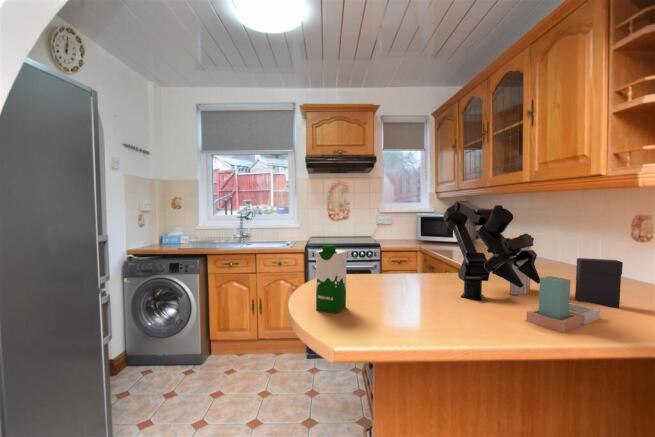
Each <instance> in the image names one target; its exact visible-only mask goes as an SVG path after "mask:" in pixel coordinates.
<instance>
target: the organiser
mask: <svg viewBox="0 0 655 437" xmlns="http://www.w3.org/2000/svg"><path fill="white" fill-rule="evenodd" d="M525 316H526V318H525V320H524V322H526V323H530V324H533V325H536V326H540V327H542V328H545V329H549V330H551V331H556V332H558V333H562V334H565V333H568V332H571V331H574V330H576V329H579V328H582V327H584V326H586V325H589V324H592V323H594V322H597V321H599V320H602V318H601V317H600V316H601V310H600V309H598V308H593V307H590V306H585V305H581V304H577V303H572V302H570V305H569V318H567V319H564V320H558V319H554V318H551V317H547V316H544V315H540V314H539V307H537V308H535V309H532V310H529V311H526V315H525Z"/></svg>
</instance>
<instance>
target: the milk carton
mask: <svg viewBox="0 0 655 437" xmlns="http://www.w3.org/2000/svg"><path fill="white" fill-rule="evenodd" d="M321 247H322V248H321V249H320V250H317V251H315V252H314V253H315V264H316V267H315V268H316V270H315V273H316V274H315V310H316V311H319V312H325V313H332V314H338V313H339V312H341V311H342V310H344V309H345V308H346V306H347V304H346V303H347V261H348V250H343V249H342V250H341V249H337V248H336V244H322V246H321Z"/></svg>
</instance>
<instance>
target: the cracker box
mask: <svg viewBox="0 0 655 437" xmlns="http://www.w3.org/2000/svg"><path fill="white" fill-rule="evenodd" d="M520 235H521V234H515V235H514V236H512V237H511V238H510V239H513V238H516V237H519V236H520ZM521 250H522V251H523V250H532V246H528V247H525V248H522V249H521ZM519 253H520V252H519ZM519 253H517V255H518V254H519ZM512 268H513V270H514V271H515V273H516V274H517V276H518V277H519V279H520V280H521V282H522V283H523V285H524V286H523V287H521V288H520V287H518V286H516V285H514V284H512V283H511V282H509V295H511V296H515V297H516V296H521V295H526V296H528V295H529V293H530V290H531V279H530V278H529V277H527V276H526V275H525V274H523V273H522V272H520V271H519V270H518V269H517V268H518V267H516V266H514V264H513V263H512Z"/></svg>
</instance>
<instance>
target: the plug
mask: <svg viewBox="0 0 655 437" xmlns="http://www.w3.org/2000/svg"><path fill="white" fill-rule="evenodd" d="M571 282H572V281H571V279H568V278H563V277H557V276H551V275H549V276H544V277H543V276H542V277H540V283H539V289H538V290H539V294H538V295H539V296H538V308H539V314H540V315H544V316H547V317H551V318H554V319H558V320H564V319H567V318H569V305H570V303H571V302H570V299H571Z"/></svg>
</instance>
